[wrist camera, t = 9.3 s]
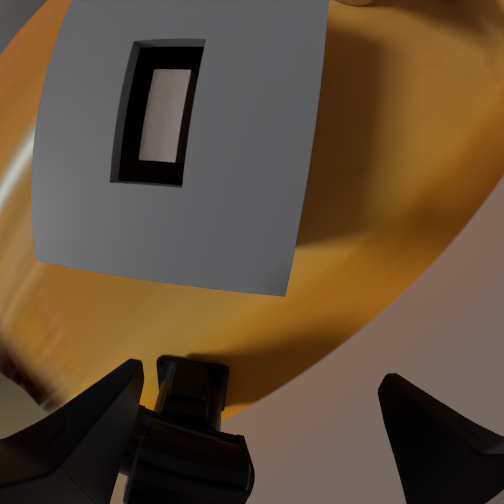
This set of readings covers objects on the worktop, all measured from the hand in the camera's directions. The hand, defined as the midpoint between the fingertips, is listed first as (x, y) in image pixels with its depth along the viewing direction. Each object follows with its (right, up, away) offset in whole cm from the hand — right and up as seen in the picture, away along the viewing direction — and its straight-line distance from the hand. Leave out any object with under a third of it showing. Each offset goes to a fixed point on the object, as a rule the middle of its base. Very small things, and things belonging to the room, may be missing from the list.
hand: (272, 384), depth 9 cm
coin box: (-5, +13, +8) cm, 16 cm away
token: (-5, +13, +8) cm, 16 cm away
